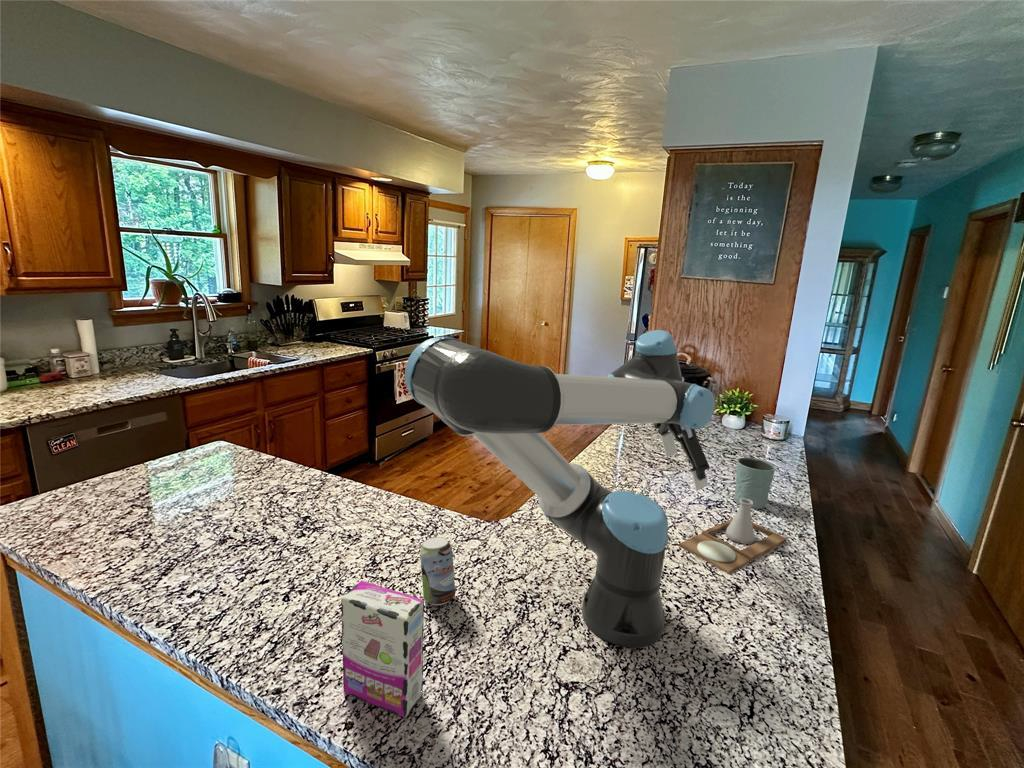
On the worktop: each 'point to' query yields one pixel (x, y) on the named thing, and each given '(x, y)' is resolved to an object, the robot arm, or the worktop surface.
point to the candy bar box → (383, 647)
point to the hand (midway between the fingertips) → (685, 470)
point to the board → (730, 548)
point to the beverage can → (437, 570)
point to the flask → (742, 524)
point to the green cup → (753, 481)
